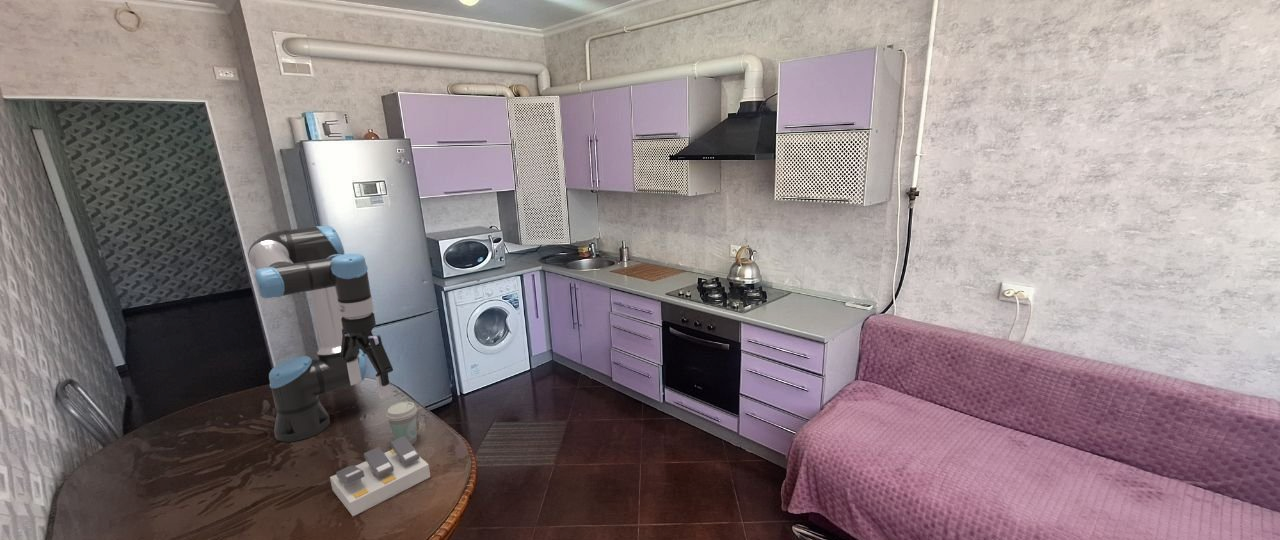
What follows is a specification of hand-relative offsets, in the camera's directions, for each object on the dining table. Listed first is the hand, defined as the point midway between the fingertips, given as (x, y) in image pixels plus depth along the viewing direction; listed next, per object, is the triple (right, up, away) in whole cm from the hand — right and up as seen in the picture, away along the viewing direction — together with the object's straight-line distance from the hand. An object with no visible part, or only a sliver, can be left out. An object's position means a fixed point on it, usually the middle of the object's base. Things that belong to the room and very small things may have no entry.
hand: (370, 389), depth 135 cm
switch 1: (-3, -22, -4) cm, 22 cm away
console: (+2, -26, +3) cm, 27 cm away
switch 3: (+6, -19, +6) cm, 21 cm away
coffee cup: (0, -22, +22) cm, 31 cm away
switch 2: (+2, -21, +1) cm, 21 cm away
